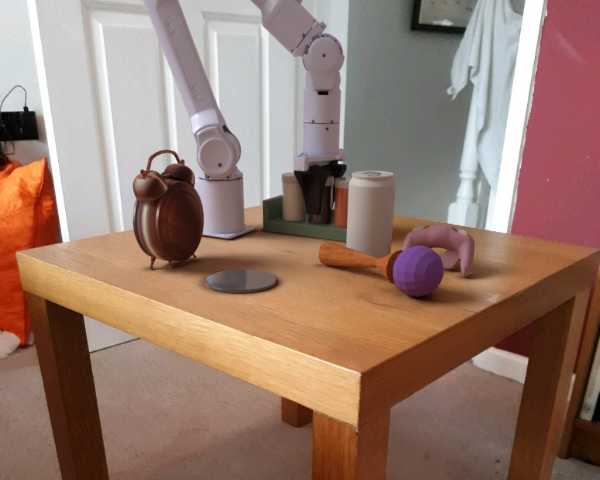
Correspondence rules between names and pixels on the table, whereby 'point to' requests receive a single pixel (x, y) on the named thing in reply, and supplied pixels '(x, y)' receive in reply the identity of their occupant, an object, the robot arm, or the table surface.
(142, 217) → the alarm clock
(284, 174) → the salt shaker
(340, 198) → the paprika shaker
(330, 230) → the spice rack
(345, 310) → the table surface
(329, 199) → the pepper shaker
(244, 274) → the coaster
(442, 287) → the table surface
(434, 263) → the kendama
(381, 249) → the beverage can
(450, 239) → the video game controller
